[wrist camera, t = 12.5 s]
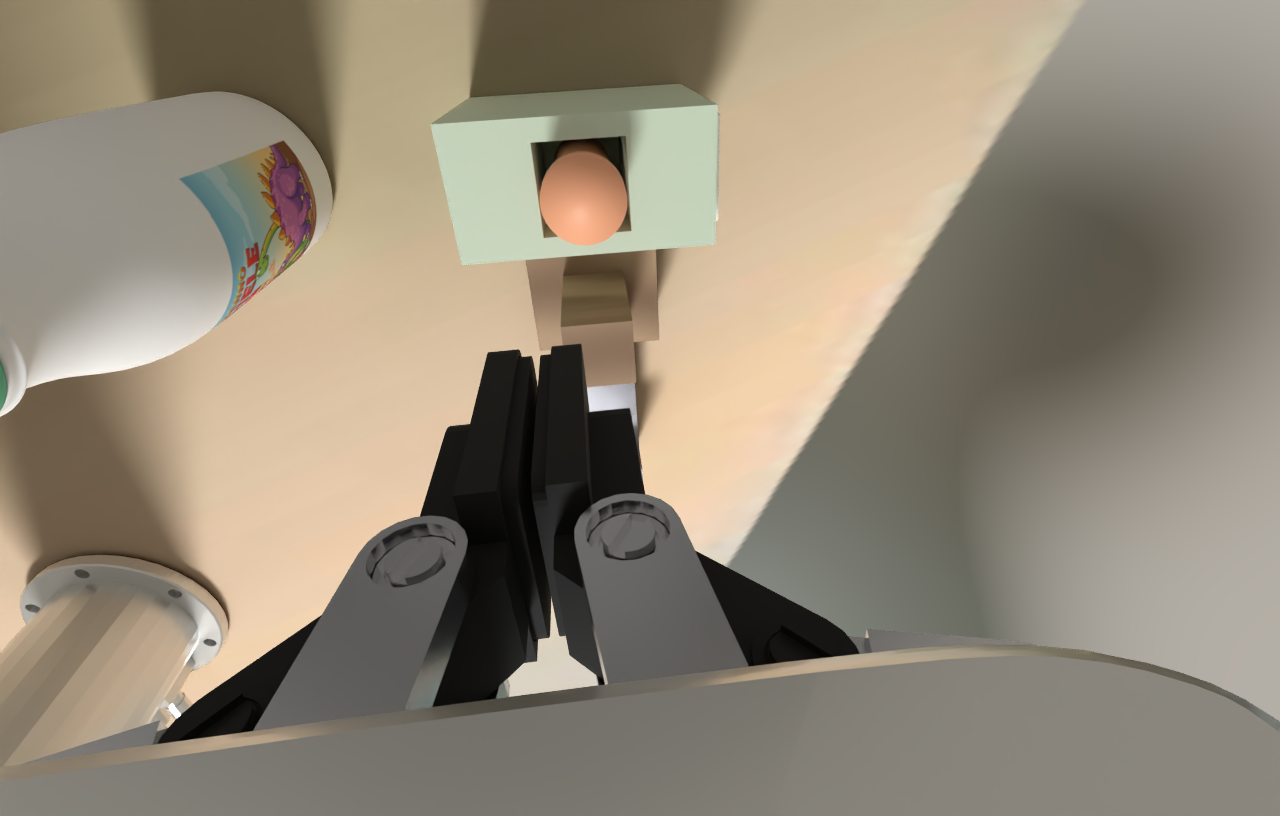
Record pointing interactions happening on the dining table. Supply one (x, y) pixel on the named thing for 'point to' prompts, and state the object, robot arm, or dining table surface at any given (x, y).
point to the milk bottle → (145, 230)
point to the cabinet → (525, 149)
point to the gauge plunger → (583, 193)
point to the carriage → (597, 309)
